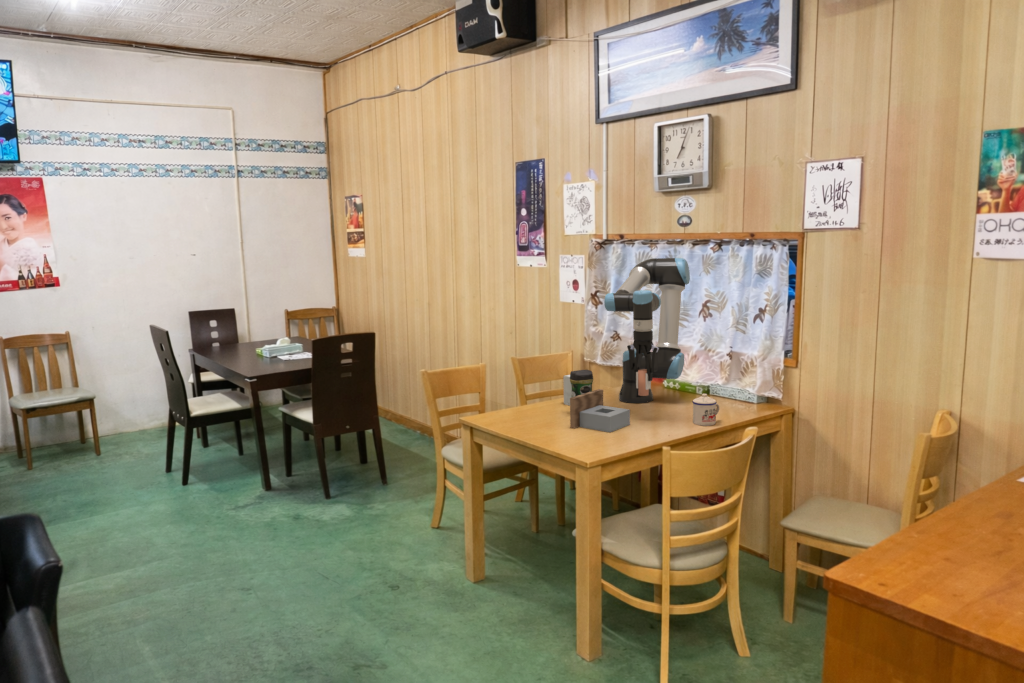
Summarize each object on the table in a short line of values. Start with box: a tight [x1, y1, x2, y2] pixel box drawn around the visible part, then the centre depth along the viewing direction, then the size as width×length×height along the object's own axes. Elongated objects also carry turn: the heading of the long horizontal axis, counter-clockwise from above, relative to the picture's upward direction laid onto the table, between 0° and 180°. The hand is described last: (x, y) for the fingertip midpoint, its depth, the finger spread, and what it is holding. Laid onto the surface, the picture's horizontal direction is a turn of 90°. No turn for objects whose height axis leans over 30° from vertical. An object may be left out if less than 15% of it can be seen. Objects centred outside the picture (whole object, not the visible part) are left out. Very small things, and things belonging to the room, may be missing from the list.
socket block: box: [579, 405, 631, 433], centre depth 280 cm, size 14×14×6 cm
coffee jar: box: [569, 369, 594, 398], centre depth 300 cm, size 10×8×19 cm
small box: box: [562, 374, 572, 407], centre depth 319 cm, size 8×6×13 cm
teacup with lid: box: [692, 393, 720, 427], centre depth 280 cm, size 12×9×12 cm
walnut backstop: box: [569, 388, 604, 429], centre depth 285 cm, size 20×2×12 cm, turn 139°
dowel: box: [638, 369, 649, 396], centre depth 285 cm, size 4×4×10 cm
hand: (643, 388), depth 286 cm, fingers closed on dowel, 3 cm apart
